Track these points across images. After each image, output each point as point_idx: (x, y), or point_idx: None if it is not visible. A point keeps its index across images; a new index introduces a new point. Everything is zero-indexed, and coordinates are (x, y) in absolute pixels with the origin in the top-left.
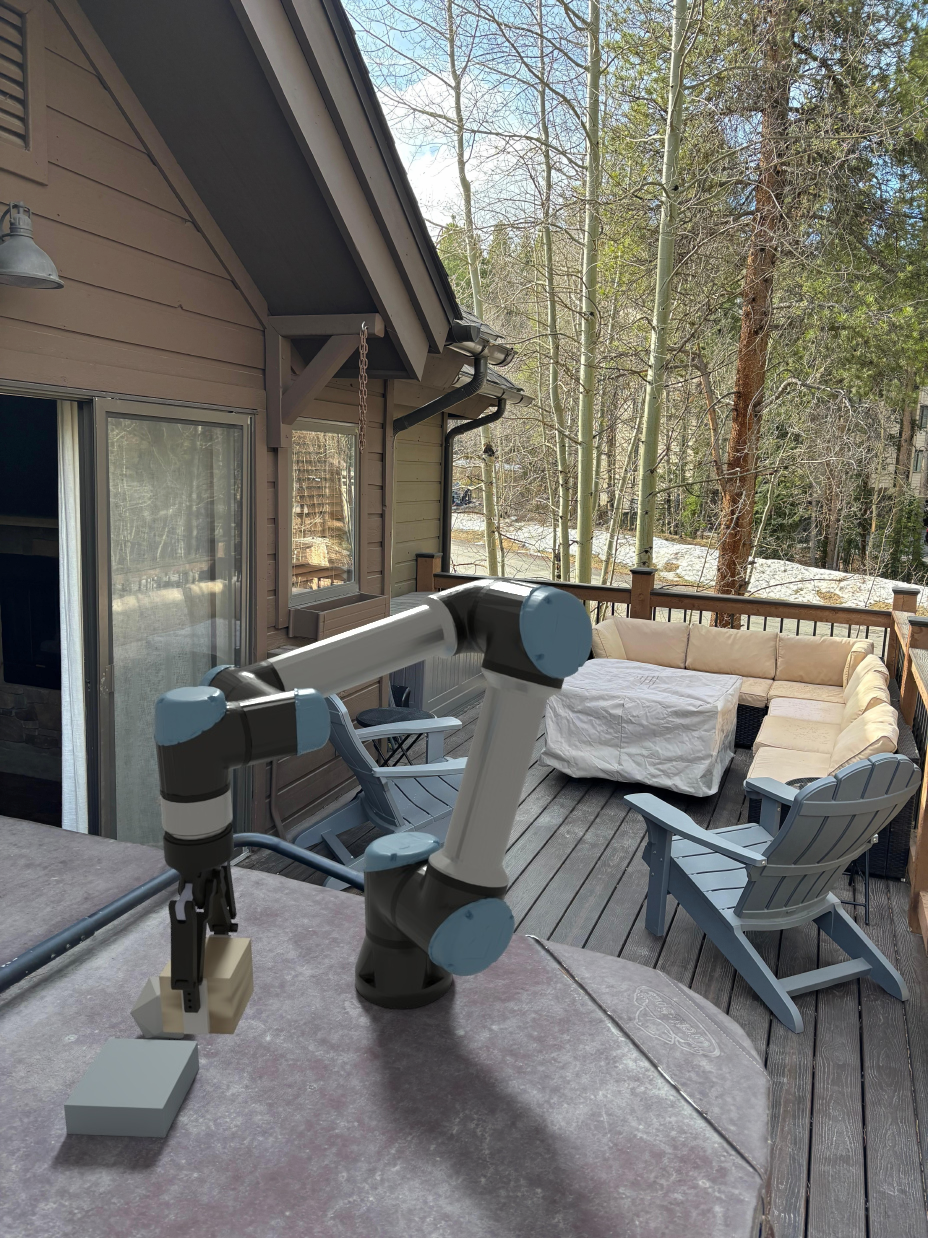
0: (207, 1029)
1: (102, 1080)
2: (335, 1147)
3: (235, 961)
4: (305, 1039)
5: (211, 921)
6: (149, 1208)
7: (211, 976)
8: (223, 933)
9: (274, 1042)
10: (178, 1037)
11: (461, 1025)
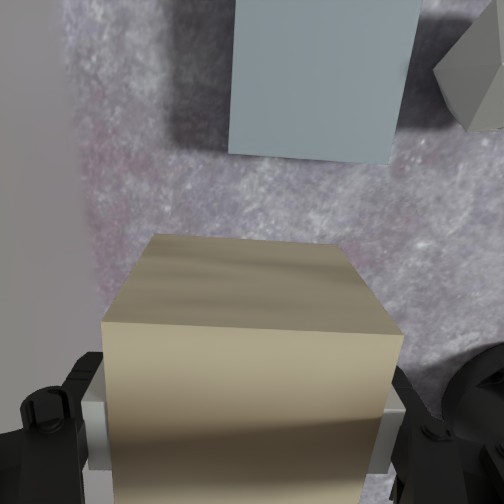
0: None
1: (301, 10)
2: None
3: None
4: (407, 294)
5: (408, 496)
6: (109, 164)
7: (120, 484)
8: (393, 460)
9: (409, 255)
10: (446, 103)
11: None
